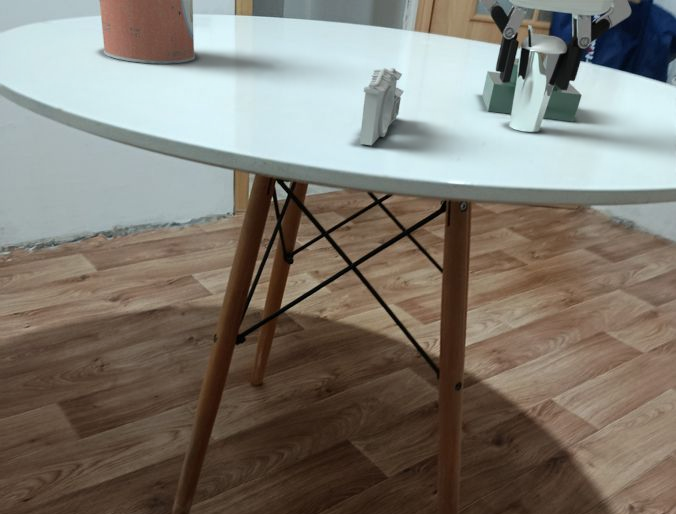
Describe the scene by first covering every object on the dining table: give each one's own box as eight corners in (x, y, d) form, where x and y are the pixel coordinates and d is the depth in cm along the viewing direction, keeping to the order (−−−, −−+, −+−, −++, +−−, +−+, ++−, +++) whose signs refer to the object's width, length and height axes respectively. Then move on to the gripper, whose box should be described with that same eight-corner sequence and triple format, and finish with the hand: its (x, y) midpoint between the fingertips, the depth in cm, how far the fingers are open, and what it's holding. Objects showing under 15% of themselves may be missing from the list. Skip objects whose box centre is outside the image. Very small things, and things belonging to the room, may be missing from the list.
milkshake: (489, 125, 68) (511, 21, 63) (520, 120, 71) (544, 21, 66) (522, 136, 65) (549, 29, 60) (553, 131, 68) (581, 29, 63)
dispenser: (560, 106, 80) (572, 63, 77) (573, 121, 74) (587, 76, 71) (482, 96, 81) (491, 53, 78) (487, 111, 74) (498, 64, 71)
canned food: (193, 66, 78) (190, -48, 72) (97, 59, 76) (84, -59, 70) (196, 50, 87) (193, -53, 81) (110, 43, 85) (100, -63, 79)
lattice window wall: (383, 116, 67) (391, 55, 64) (400, 119, 67) (409, 58, 63) (355, 145, 57) (363, 75, 54) (374, 148, 57) (384, 78, 53)
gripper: (495, -151, 53) (452, 80, 63) (701, -127, 52) (624, 102, 62) (486, -142, 59) (448, 67, 69) (671, -120, 59) (605, 87, 69)
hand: (532, 82), depth 66 cm, fingers open, 5 cm apart
